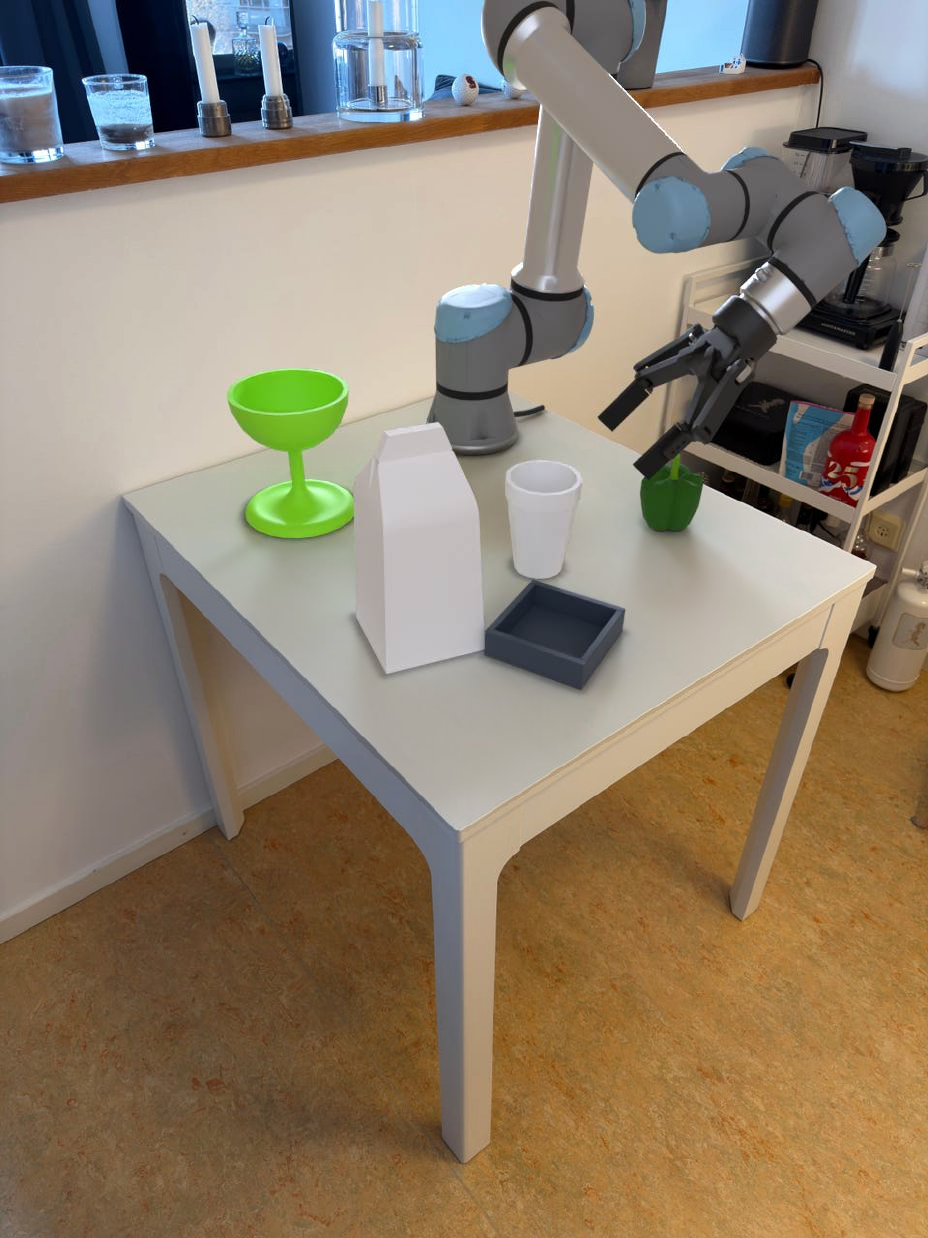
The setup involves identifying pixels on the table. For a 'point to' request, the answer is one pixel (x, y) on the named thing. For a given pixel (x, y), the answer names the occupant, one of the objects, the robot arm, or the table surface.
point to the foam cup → (541, 514)
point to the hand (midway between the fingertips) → (621, 447)
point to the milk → (417, 551)
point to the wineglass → (293, 447)
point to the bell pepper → (671, 497)
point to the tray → (555, 633)
